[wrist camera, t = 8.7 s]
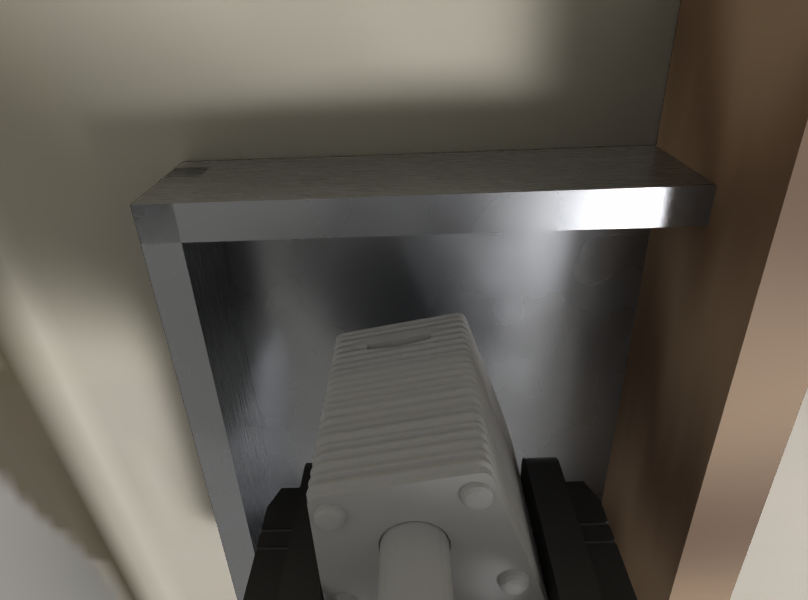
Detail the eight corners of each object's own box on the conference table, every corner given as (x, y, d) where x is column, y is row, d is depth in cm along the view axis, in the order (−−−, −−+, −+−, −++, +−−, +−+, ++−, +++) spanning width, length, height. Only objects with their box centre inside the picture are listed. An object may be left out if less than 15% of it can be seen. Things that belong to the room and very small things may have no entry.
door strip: (685, -28, 12) (852, -34, 7) (756, -32, 12) (963, -38, 7) (578, 597, 21) (623, 756, 17) (617, 597, 21) (672, 756, 17)
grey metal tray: (183, 161, 14) (130, 205, 11) (655, 145, 14) (717, 185, 11) (265, 539, 20) (243, 624, 17) (589, 532, 20) (618, 617, 17)
